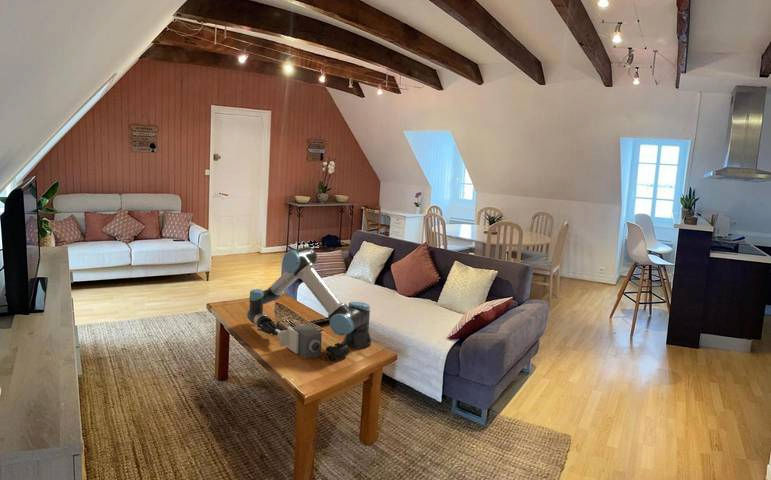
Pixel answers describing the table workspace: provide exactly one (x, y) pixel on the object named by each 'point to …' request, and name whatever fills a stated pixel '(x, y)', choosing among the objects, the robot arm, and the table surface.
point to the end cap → (337, 351)
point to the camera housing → (308, 341)
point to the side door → (289, 339)
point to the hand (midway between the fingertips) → (281, 335)
